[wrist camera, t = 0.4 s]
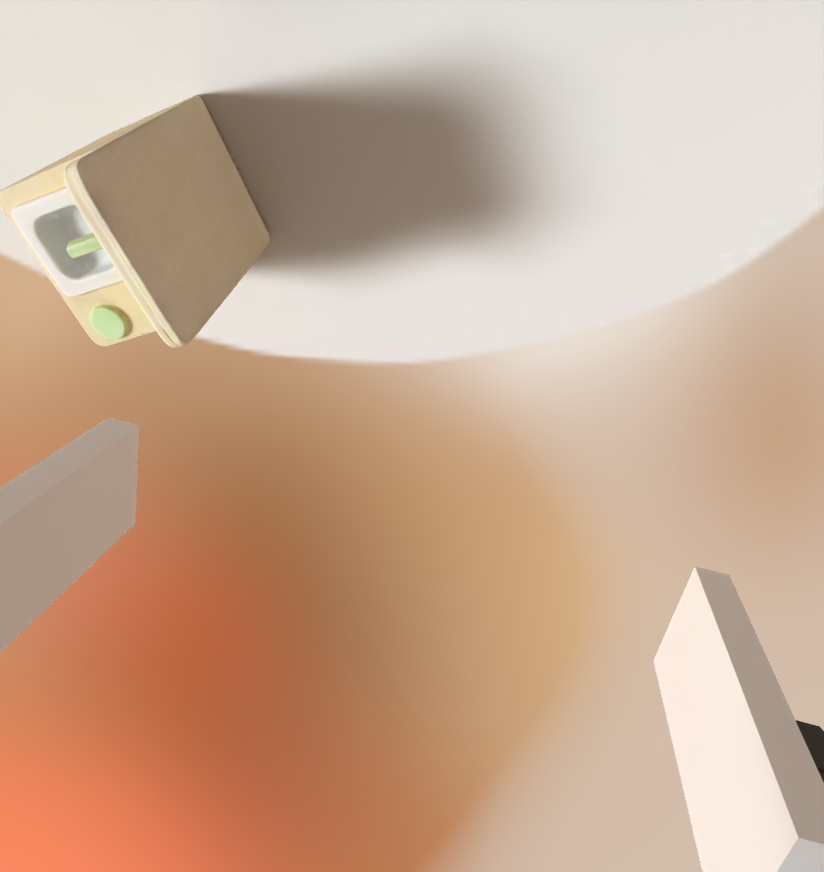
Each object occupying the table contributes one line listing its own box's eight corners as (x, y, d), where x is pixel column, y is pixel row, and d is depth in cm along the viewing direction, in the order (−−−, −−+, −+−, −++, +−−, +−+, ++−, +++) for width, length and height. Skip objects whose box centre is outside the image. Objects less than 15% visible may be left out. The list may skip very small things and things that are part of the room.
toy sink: (90, 137, 39) (-68, 224, 28) (199, 88, 36) (71, 164, 26) (173, 273, 43) (63, 391, 33) (274, 238, 41) (190, 353, 31)
